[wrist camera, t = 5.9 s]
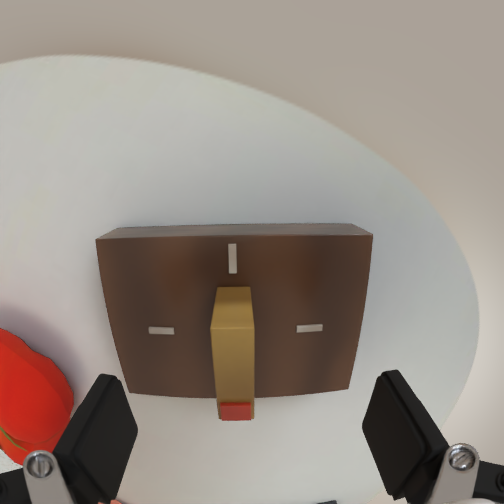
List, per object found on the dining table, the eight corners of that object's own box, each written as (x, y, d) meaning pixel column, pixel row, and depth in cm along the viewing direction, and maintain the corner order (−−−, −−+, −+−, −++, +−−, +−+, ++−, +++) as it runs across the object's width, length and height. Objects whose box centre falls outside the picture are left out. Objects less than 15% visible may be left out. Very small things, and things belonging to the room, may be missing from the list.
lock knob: (216, 286, 14) (209, 331, 10) (250, 286, 14) (254, 330, 10) (221, 368, 15) (218, 423, 11) (250, 368, 15) (254, 423, 11)
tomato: (1, 268, 16) (-73, 313, 8) (113, 377, 19) (71, 462, 10) (-21, 355, 18) (-64, 398, 10) (62, 433, 21) (33, 490, 13)
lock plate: (352, 223, 17) (374, 234, 14) (335, 363, 19) (349, 391, 16) (117, 227, 16) (93, 239, 13) (140, 366, 19) (128, 394, 16)
